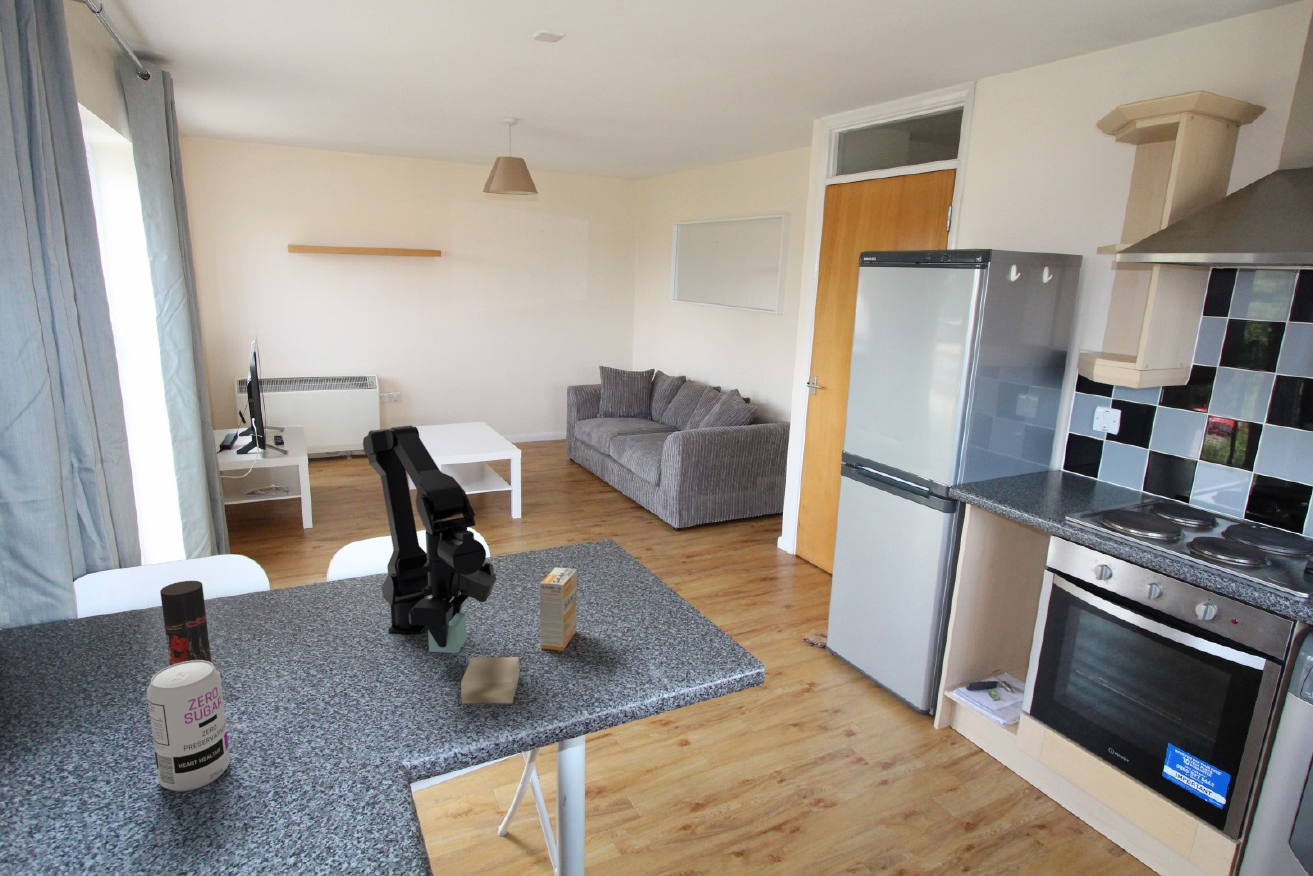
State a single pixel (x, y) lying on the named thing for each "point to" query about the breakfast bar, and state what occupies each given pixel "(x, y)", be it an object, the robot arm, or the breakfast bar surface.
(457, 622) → the teal cube
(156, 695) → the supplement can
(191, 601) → the deodorant
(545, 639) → the supplement box
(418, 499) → the robot arm
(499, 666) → the beech block
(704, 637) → the breakfast bar surface
